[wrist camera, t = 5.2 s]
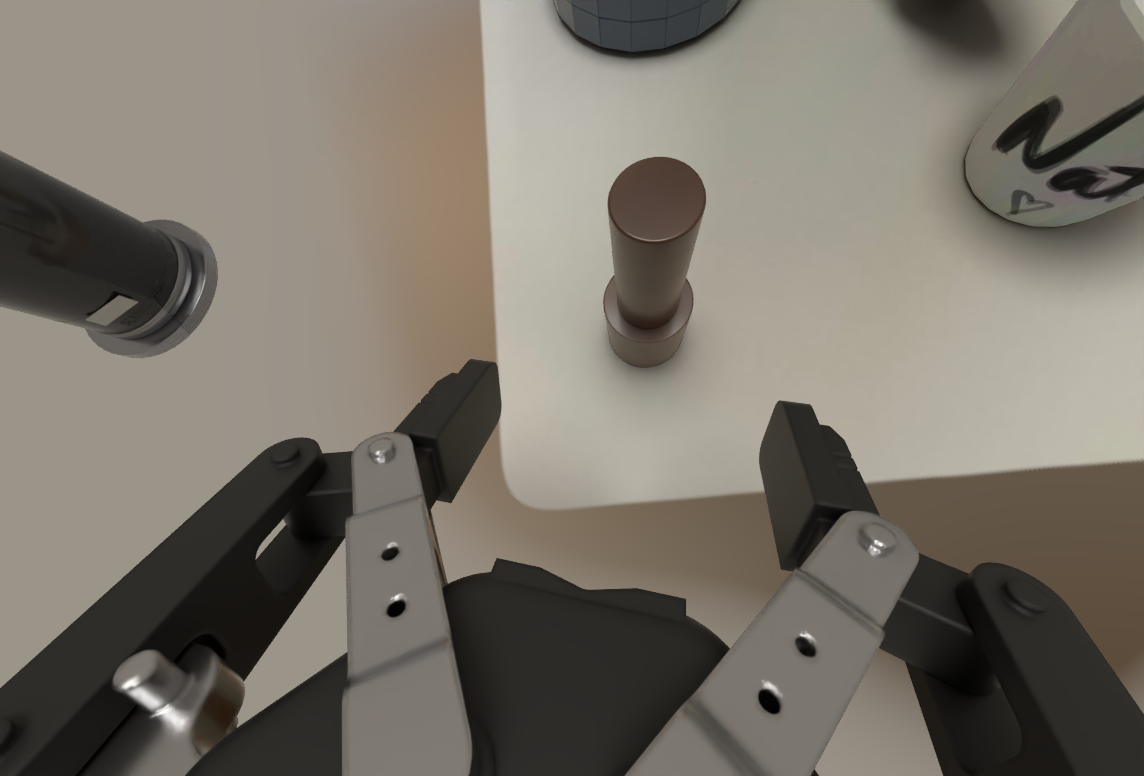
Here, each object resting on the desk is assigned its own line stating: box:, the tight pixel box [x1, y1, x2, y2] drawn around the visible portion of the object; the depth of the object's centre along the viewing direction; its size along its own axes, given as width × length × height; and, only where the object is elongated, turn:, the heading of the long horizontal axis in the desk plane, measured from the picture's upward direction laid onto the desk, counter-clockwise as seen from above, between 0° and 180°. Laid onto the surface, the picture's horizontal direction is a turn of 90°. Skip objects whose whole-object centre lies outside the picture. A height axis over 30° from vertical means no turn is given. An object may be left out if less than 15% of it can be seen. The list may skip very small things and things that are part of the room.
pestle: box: [603, 157, 706, 367], centre depth 19 cm, size 4×4×13 cm
